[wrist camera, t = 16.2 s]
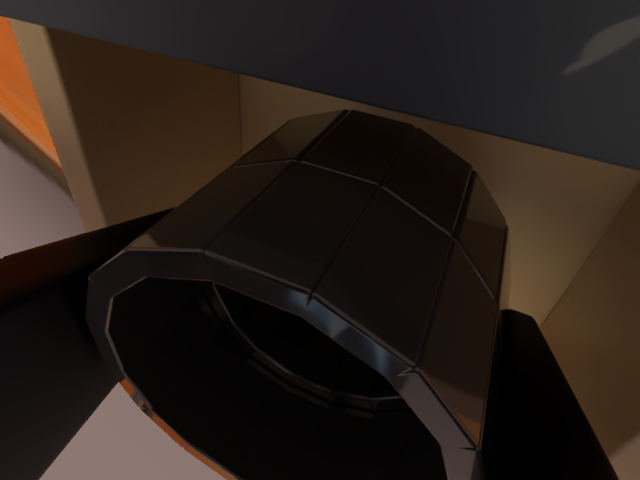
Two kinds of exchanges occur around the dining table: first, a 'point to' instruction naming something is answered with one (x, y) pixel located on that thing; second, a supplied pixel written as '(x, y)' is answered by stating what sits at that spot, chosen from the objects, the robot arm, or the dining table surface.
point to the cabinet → (408, 57)
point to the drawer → (289, 102)
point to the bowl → (319, 309)
